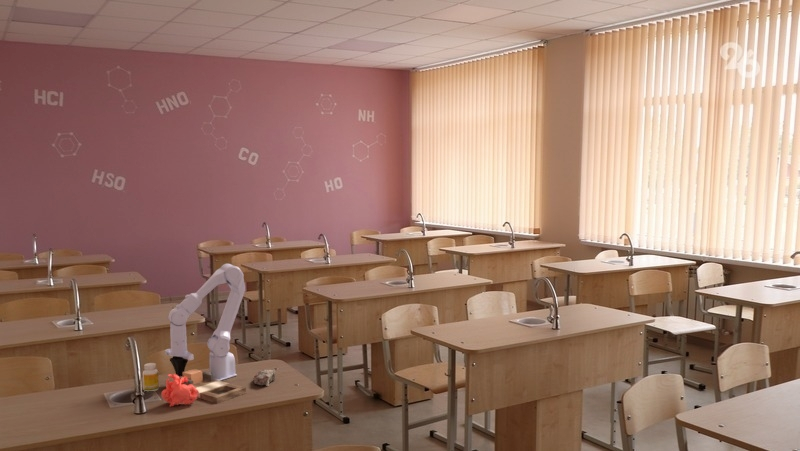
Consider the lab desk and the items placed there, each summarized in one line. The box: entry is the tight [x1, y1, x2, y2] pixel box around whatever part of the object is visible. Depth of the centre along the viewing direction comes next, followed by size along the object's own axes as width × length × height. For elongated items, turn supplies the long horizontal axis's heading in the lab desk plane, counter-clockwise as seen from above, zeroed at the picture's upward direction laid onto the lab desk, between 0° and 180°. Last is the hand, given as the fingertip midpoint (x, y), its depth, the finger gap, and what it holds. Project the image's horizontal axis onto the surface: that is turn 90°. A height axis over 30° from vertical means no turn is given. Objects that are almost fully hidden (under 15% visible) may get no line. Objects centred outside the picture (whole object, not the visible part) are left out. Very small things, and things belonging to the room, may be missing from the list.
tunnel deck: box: [171, 371, 247, 404], centre depth 247 cm, size 13×28×4 cm, turn 54°
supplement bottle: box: [142, 362, 160, 392], centre depth 249 cm, size 5×5×10 cm
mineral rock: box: [253, 369, 276, 387], centre depth 257 cm, size 15×8×4 cm, turn 171°
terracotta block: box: [182, 368, 203, 384], centre depth 251 cm, size 5×5×4 cm
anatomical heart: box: [161, 372, 198, 407], centre depth 233 cm, size 9×12×12 cm
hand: (180, 376), depth 256 cm, fingers closed
